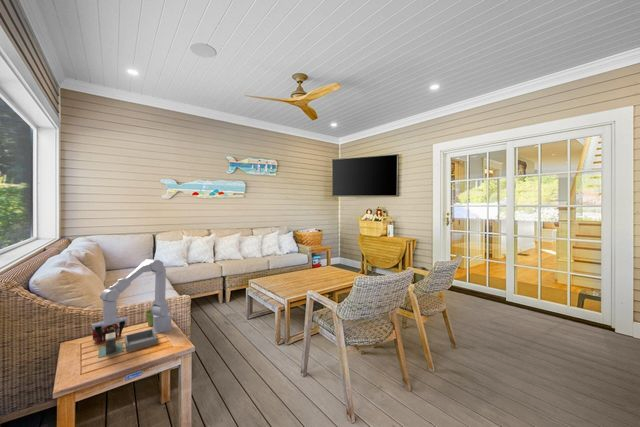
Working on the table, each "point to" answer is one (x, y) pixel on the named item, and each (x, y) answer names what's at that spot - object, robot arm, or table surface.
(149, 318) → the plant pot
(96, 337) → the toy fire truck
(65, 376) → the table surface
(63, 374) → the table surface
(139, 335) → the grey tray
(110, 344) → the box
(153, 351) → the table surface
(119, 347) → the mat
